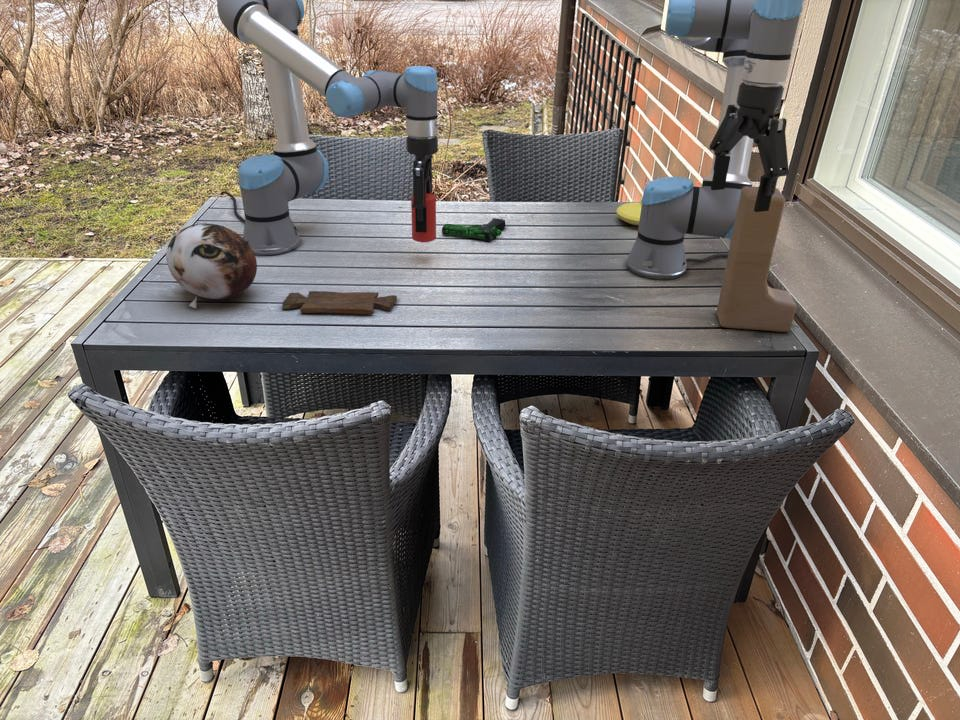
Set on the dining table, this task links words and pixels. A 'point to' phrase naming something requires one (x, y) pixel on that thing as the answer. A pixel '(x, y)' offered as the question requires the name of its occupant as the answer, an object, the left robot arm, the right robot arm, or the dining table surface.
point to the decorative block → (754, 270)
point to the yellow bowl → (630, 212)
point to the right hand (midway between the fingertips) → (738, 199)
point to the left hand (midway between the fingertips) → (423, 226)
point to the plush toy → (211, 261)
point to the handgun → (476, 230)
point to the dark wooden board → (338, 302)
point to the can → (431, 220)
